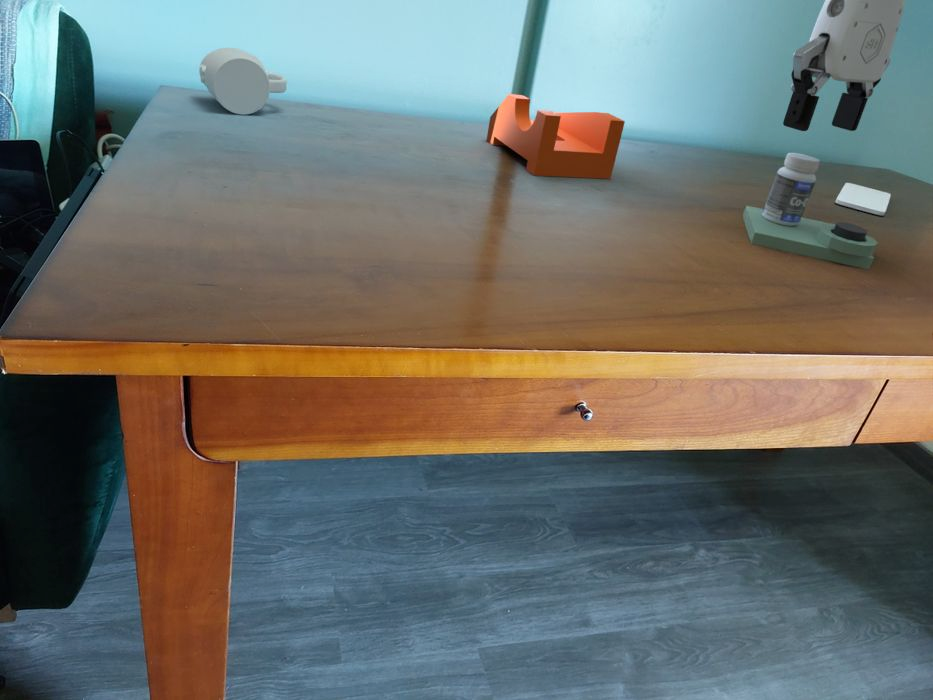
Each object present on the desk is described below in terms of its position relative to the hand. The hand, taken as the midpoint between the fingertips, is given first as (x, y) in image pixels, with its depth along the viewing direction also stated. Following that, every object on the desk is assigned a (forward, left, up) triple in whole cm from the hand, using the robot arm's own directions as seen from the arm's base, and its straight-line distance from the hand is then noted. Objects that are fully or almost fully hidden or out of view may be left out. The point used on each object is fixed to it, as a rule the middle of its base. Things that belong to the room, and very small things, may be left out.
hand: (819, 128), depth 89 cm
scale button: (-6, +5, -11) cm, 14 cm away
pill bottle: (+1, 0, -12) cm, 12 cm away
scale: (-2, +2, -14) cm, 14 cm away
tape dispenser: (+34, -13, -14) cm, 39 cm away
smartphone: (-17, -29, -14) cm, 36 cm away
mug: (+80, -5, -14) cm, 81 cm away
